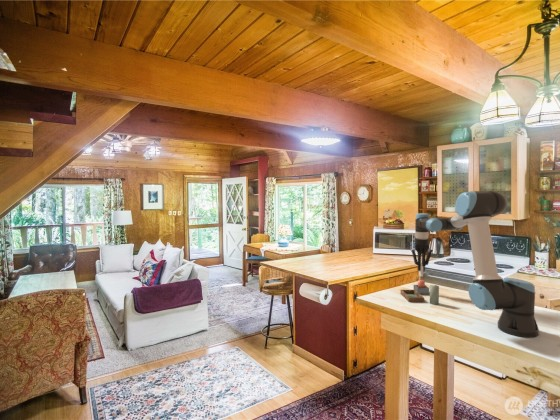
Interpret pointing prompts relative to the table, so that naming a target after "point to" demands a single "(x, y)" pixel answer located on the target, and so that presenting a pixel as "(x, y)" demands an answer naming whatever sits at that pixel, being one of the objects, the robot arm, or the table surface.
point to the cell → (434, 294)
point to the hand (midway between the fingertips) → (421, 275)
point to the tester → (421, 289)
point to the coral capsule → (421, 283)
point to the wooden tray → (412, 296)
